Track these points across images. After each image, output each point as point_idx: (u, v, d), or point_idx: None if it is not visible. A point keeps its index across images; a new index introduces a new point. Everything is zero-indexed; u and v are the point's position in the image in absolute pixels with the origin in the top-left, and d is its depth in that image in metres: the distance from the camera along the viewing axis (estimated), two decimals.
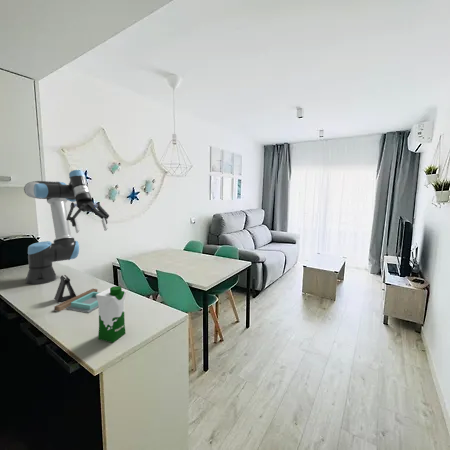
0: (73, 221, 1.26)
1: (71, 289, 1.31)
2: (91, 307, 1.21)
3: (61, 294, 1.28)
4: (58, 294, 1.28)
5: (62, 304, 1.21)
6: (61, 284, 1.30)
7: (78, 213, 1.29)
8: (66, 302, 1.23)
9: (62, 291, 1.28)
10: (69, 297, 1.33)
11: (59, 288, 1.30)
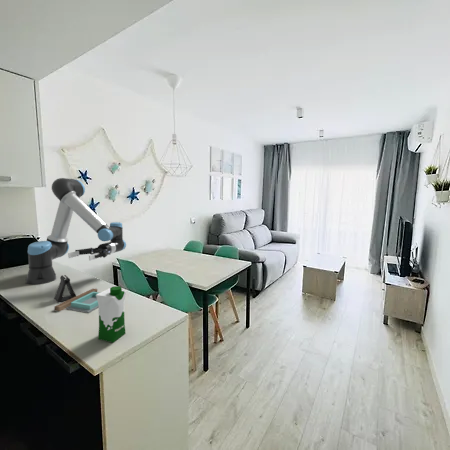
0: None
1: (71, 289, 1.31)
2: (91, 307, 1.21)
3: (61, 294, 1.28)
4: (58, 294, 1.28)
5: (62, 304, 1.21)
6: (61, 284, 1.30)
7: None
8: (66, 302, 1.23)
9: (62, 291, 1.28)
10: (69, 297, 1.33)
11: (59, 288, 1.30)
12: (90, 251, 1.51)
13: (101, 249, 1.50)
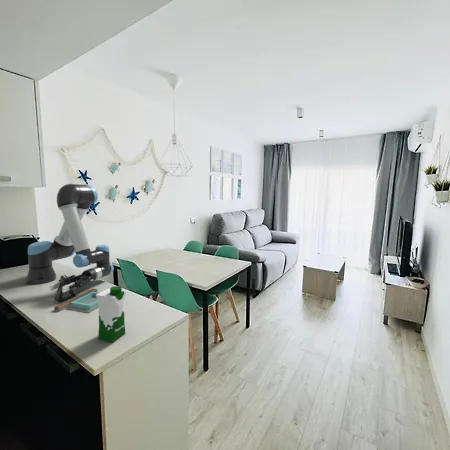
0: None
1: (71, 289, 1.31)
2: (91, 307, 1.21)
3: (61, 294, 1.28)
4: (58, 294, 1.28)
5: (62, 304, 1.21)
6: (61, 284, 1.30)
7: None
8: (66, 302, 1.23)
9: None
10: (69, 297, 1.33)
11: (59, 288, 1.30)
12: (74, 279, 1.39)
13: (83, 277, 1.39)
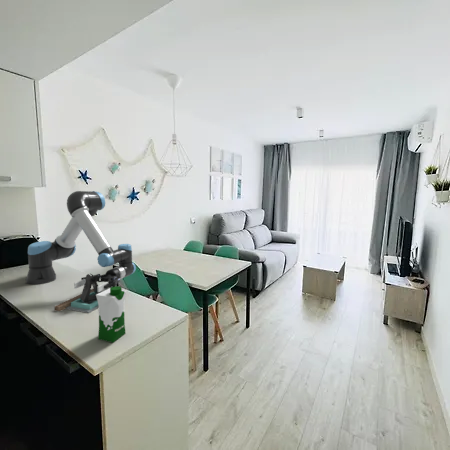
0: None
1: (97, 288, 1.27)
2: (91, 307, 1.21)
3: (88, 293, 1.24)
4: (85, 294, 1.24)
5: (62, 304, 1.21)
6: (87, 283, 1.26)
7: None
8: (66, 302, 1.23)
9: (89, 290, 1.24)
10: (95, 296, 1.29)
11: (85, 287, 1.26)
12: (98, 279, 1.36)
13: (110, 277, 1.35)
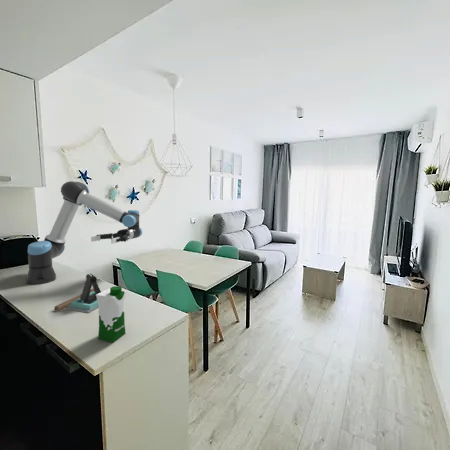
0: (119, 240, 1.50)
1: (97, 288, 1.27)
2: (91, 307, 1.21)
3: (88, 293, 1.24)
4: (85, 294, 1.24)
5: (62, 304, 1.21)
6: (87, 283, 1.26)
7: None
8: (66, 302, 1.23)
9: (89, 290, 1.24)
10: (95, 296, 1.29)
11: (85, 287, 1.26)
12: (110, 236, 1.58)
13: (121, 234, 1.58)
